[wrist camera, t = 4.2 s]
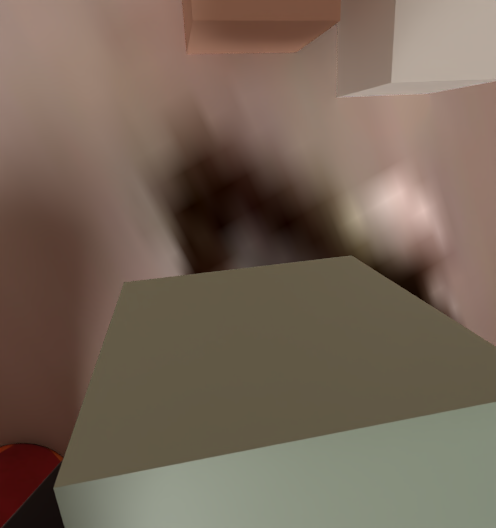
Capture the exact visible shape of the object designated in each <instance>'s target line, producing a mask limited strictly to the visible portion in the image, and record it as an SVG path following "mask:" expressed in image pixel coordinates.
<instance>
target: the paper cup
mask: <svg viewBox="0 0 496 528" xmlns="http://www.w3.org/2000/svg"><path fill="white" fill-rule="evenodd" d="M62 460H63V457H62V456H61V455H59V454H58V453H56V452H55V451H53V450H51V449H49V448H46V447H43V446H39V445H35V444H25V443H20V444H10V445H5V446H2V447H0V528H1V527H2V526H3V525H4V524H5V523H6V522H7V521H8V520H9V518H10V517H11V516H12V515H13V514H14V513H15V512H16V511H17V510H18V508H19V507H20V506H21V505H22V504H23V503H24V502H25V501H26V500H27V498H28V497H29V496H30V495H31V494H32V493H33V492H34V491H35V490H36V488H37V487H38V486H39V485H40V484H41V483H42V482H43V481H44V480H45V478H46V477H47V476H48V475H49V474H50V473H51V472H52V471H53V470H54V468H55V467H56V466H57V465H58V464H59V463H60V462H61V461H62Z"/></svg>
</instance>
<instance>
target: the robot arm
mask: <svg viewBox="0 0 496 528" xmlns="http://www.w3.org/2000/svg"><path fill="white" fill-rule="evenodd" d="M62 461H63V460H62ZM62 461H61V462H60V463H59V464H58V465H57V466H56V467H55V468H54V470H53V471H52V472H51V473H50V474H49V475H48V476H47V477H46V478H45V480H44V481H43V482H42V483H41V484H40V485H39V486H38V487H37V488H36V490H35V491H34V492H33V493H32V494H31V495H30V496H29V497H28V498H27V500H26V501H25V502H24V503H23V504H22V505H21V506H20V507H19V508H18V510H17V511H16V512H15V513H14V514H13V515H12V516H11V517H10V518H9V520H8V521H7V522H6V523H5V524H4V525H3V526H2V527H1V528H65V527H64V524H63V520H62V517H61V513H60V510H59V506H58V503H57V499H56V496H55V492H54V489H53V488H54V485H55V482H56V479H57V476H58V473H59V470H60V467H61V464H62Z"/></svg>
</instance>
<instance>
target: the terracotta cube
mask: <svg viewBox="0 0 496 528" xmlns="http://www.w3.org/2000/svg"><path fill="white" fill-rule="evenodd" d="M182 5H183V17H184V28H185V40H186V51H187V54H223V53H296V52H297V51H299V50H300V49H302V48H303V47H304V46H306V45H307V44H309V43H310V42H311V41H313V40H314V39H316V38H317V37H318V36H320V35H321V34H323V33H324V32H325V31H327V30H328V29H329V28H331V27H332V26H334V25H335V24H336V23H338V22H339V21H340V13H341V0H182Z"/></svg>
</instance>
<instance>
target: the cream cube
mask: <svg viewBox="0 0 496 528" xmlns="http://www.w3.org/2000/svg"><path fill="white" fill-rule="evenodd" d="M494 81H496V0H341V13H340V21H339V22H338V24H337V84H336V98H337V97H361V96H385V95H410V94H430V93H435V92H441V91H446V90H451V89H457V88H462V87H467V86H473V85H478V84H483V83H489V82H494Z"/></svg>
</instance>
